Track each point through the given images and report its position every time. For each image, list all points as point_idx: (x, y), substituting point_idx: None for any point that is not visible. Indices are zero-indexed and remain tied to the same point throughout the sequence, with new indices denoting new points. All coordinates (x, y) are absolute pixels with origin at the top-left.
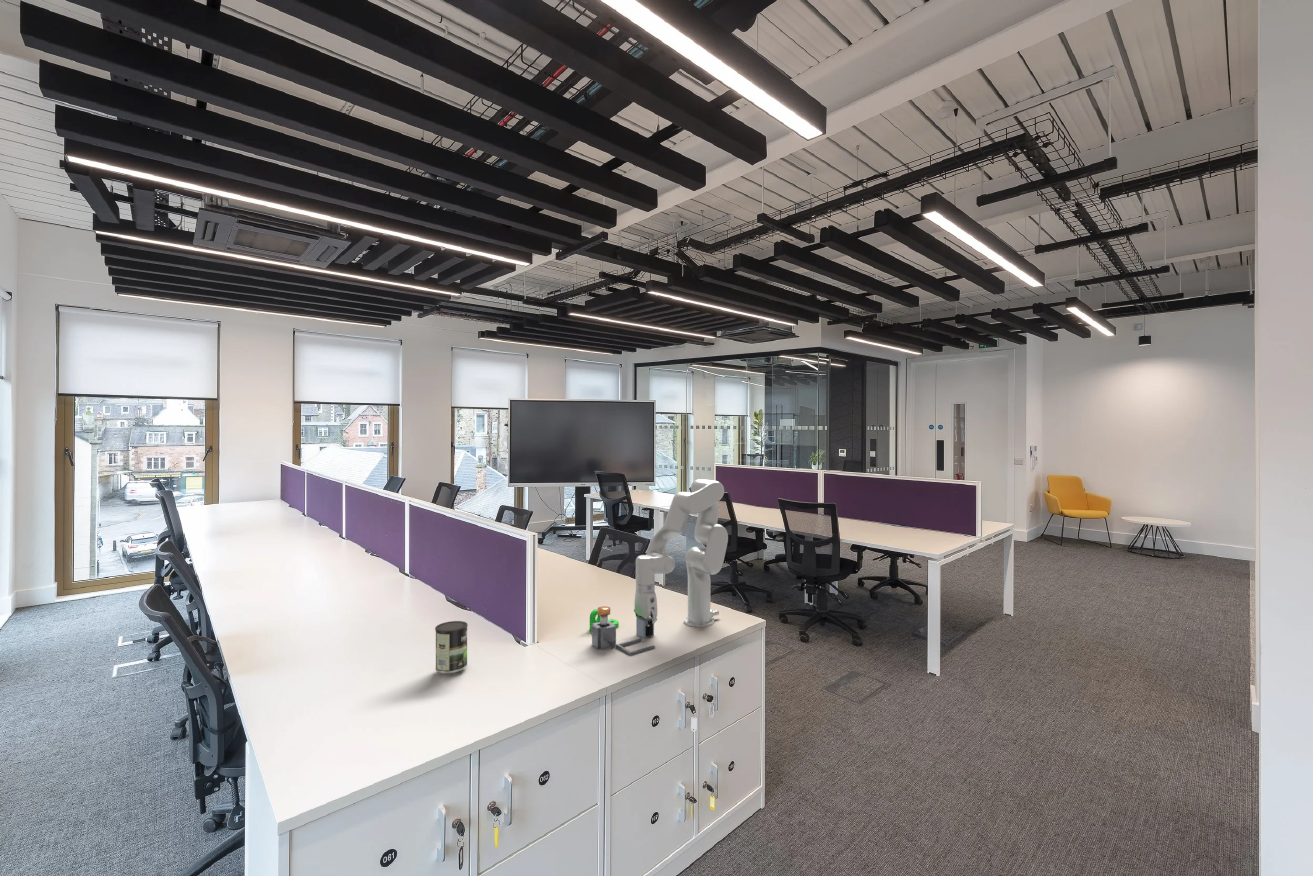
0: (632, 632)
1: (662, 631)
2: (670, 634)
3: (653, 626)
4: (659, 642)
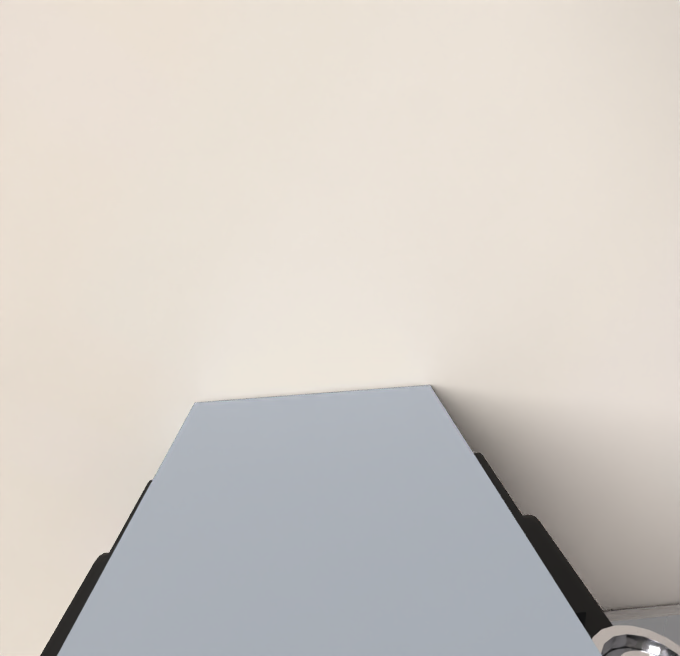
0: (40, 583)
1: (253, 63)
2: (503, 11)
3: (508, 523)
4: (676, 424)
